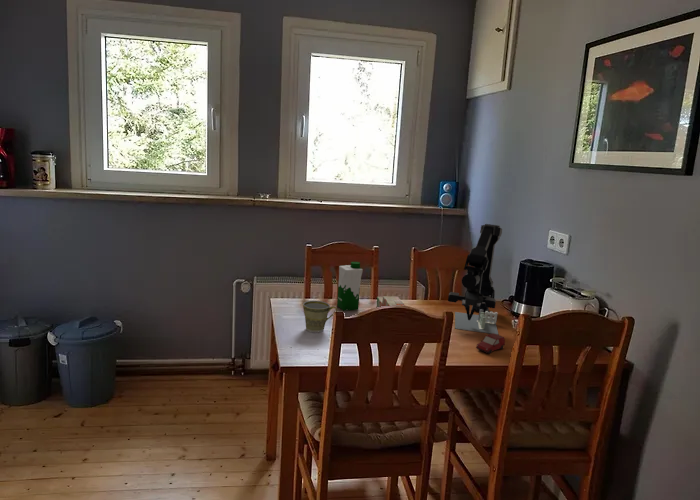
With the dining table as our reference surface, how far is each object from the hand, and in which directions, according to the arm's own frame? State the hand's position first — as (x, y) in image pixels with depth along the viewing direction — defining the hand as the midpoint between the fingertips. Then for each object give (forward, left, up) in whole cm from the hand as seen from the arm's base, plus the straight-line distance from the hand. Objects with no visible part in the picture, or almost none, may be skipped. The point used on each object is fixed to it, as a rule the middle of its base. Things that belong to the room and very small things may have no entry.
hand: (469, 319), depth 216 cm
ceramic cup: (+28, -56, -3) cm, 63 cm away
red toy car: (+23, +7, -3) cm, 24 cm away
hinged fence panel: (-2, +5, -2) cm, 6 cm away
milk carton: (-3, -51, -3) cm, 51 cm away
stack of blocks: (+14, -31, -3) cm, 35 cm away
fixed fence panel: (-8, +8, -3) cm, 11 cm away
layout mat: (-6, +3, -3) cm, 7 cm away
